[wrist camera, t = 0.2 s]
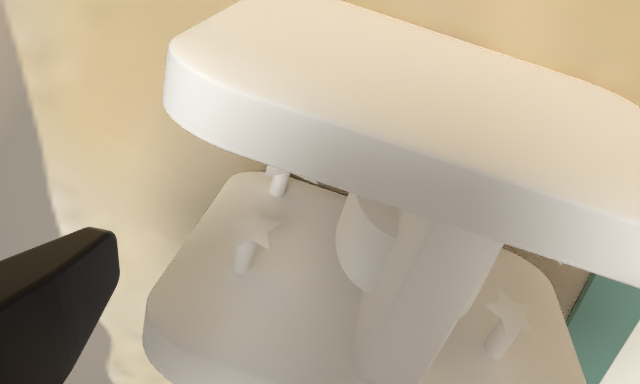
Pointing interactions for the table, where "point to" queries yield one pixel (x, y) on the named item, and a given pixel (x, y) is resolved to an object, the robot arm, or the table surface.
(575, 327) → the green flat square panel
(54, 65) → the table surface
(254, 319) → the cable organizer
